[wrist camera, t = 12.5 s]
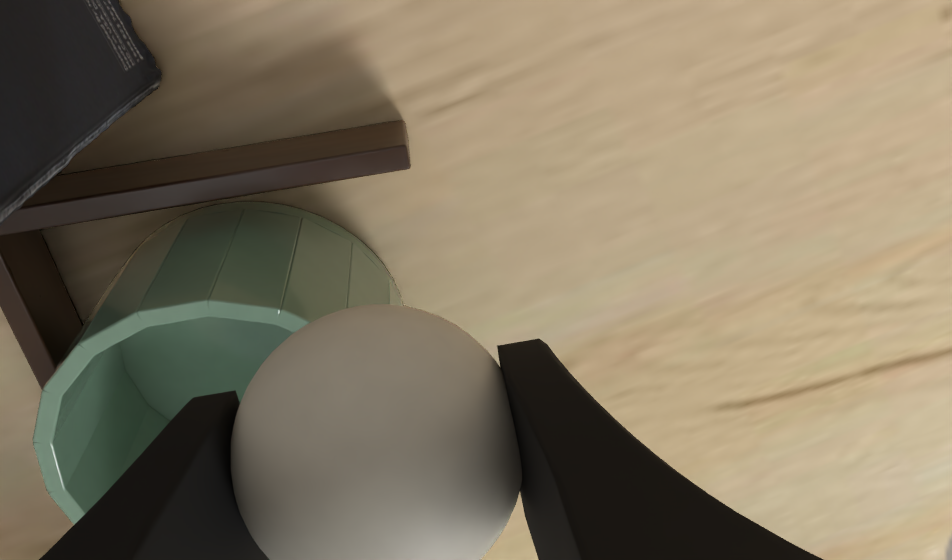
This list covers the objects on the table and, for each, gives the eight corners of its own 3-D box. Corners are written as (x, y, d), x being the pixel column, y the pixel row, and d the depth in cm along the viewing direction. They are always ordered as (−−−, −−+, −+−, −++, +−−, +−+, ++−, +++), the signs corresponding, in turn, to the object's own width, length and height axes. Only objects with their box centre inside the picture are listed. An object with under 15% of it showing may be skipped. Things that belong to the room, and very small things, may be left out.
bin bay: (465, 452, 25) (471, 498, 23) (143, 507, 24) (124, 558, 23) (404, 118, 19) (406, 144, 18) (-6, 185, 19) (-46, 217, 17)
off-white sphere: (516, 440, 14) (562, 641, 10) (288, 481, 14) (255, 697, 10) (488, 235, 12) (533, 394, 8) (222, 280, 12) (151, 461, 8)
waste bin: (430, 421, 24) (441, 554, 19) (165, 468, 24) (112, 613, 19) (378, 176, 20) (376, 270, 15) (61, 230, 20) (-37, 341, 15)
